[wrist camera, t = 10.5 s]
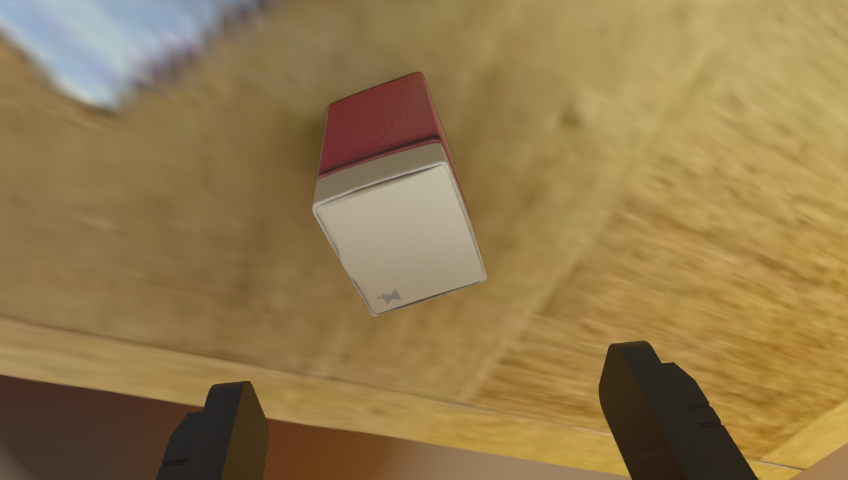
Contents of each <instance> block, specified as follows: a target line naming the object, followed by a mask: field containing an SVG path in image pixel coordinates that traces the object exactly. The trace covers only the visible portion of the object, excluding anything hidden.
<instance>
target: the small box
mask: <svg viewBox="0 0 848 480" xmlns="http://www.w3.org/2000/svg"><path fill="white" fill-rule="evenodd" d="M312 211H313V213H314V215H315V217H316V219H317V221H318V222H319V224H320V226H321V228H322V230H323V232H324V233H325V235H326V237H327V239H328V241H329V243H330V244H331V246H332V248H333V249H334V251H335V253H336V255H337V257H338V258H339V260H340V262H341V264H342V266H343V268H344V269H345V271H346V273H347V274H348V276H349V277H350V279H351V281H352V282H353V284H354V286H355V288H356V289H357V291H358V292H359V294H360V296H361V297H362V299H363V301H364V303H365V304H366V306H367V307H368V309H369V311H370V313H371V315H372V316H379V315H382V314H384V313H387V312H391V311H394V310H397V309H401V308H404V307H407V306H411V305H414V304H417V303H420V302H424V301H426V300H429V299H433V298H436V297H439V296H442V295H446V294H448V293H451V292H454V291H457V290H459V289H462V288H466V287H469V286H471V285H474V284H477V283H481V282H483V281H485V280H486V278H487V275H486V271H485V268H484V264H483V261H482V257H481V254H480V251H479V247H478V244H477V240H476V236H475V233H474V229H473V226H472V223H471V219H470V216H469V213H468V209H467V206H466V203H465V199H464V196H463V192H462V189H461V185H460V182H459V178H458V174H457V171H456V168H455V164H454V161H453V158H452V155H451V152H450V148H449V145H448V142H447V139H446V136H445V132H444V129H443V127H442V124H441V121H440V118H439V116H438V113H437V110H436V108H435V105H434V102H433V100H432V97H431V94H430V92H429V89H428V86H427V84H426V81H425V78H424V76H423V74H422V73H419V72H418V73H414V74H411V75H408V76H406V77H403V78H400V79H397V80H394V81H391V82H388V83H385V84H382V85H380V86H377V87H374V88H371V89H369V90H366V91H363V92H361V93H358V94H355V95H353V96H350V97H348V98H345V99H343V100H340V101H338V102H335V103H332V104H330V105H329V107H328V110H327V116H326V123H325V129H324V136H323V142H322V149H321V155H320V161H319V167H318V174H317V179H316V186H315V192H314V199H313V205H312Z"/></svg>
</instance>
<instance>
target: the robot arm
mask: <svg viewBox="0 0 848 480" xmlns="http://www.w3.org/2000/svg"><path fill="white" fill-rule="evenodd" d="M599 398H600V404H601V407H602V411H603V413H604V416H605V418H606V420H607V422H608V425H609V427H610V429H611V432H612V434H613V436H614V439H615V441H616V443H617V446H618V448H619V450H620V453H621V455H622V457H623V460H624V462H625V464H626V467H627V469H628V471H629V474H630V476H631V478H632V480H758V479H757V477H756V476H755V474H754V472H753V471H752V469H751V468H750V466H749V464H748V463H747V461H746V460H745V458H744V457H743V455H742V453H741V452H740V450H739V449H738V447H737V446H736V444H735V442H734V441H733V439H732V438H731V436H730V435H729V433H728V431H727V430H726V428H725V427H724V425H723V426H722V425H721V420H720V419H719V417H718V416H717V414H716V413H715V411H714V409H713V408H712V407H710V406H709V402H708V400H707V398H706V397H705V395H704V394H703V392H702V391H701V389H700V387H699V386H698V384H697V383H696V381H695V380H694V379H693V378H692V377H690V376H689V375H688V374H687V373H686V372H685V371H683V370H682V369H681V368H680V367H679V366H678V365H676V364H675V363H674V362H672V363H663V364H662V363H661V361H660V360H659V358H658V356H657V355H656V353H655V351H654V349H653V348H652V346H651V345H650V344H649V343H648V342H647V341H634V342H625V343H615V344H611V345H610V346H609V348H608V352H607V356H606V360H605V363H604V367H603V371H602V375H601V379H600V383H599ZM267 450H268V426H267V421H266V418H265V415H264V413H263V410H262V408H261V405H260V403H259V400H258V398H257V396H256V393H255V391H254V388H253V386H252V384H251V382H250V381H242V382H233V383H223V384H215V385H213V386H212V387H211V388H210V390H209V393H208V396H207V399H206V402H205V406H204V409H203V412H195V413H188V414H187V415H186V416H185V418H184V419H183V420H182V422H181V423H180V424H179V426H178V427H177V428H176V430H175V431H174V432H173V434H172V435H171V436H170V439H169V442H168V445H167V448H166V451H165V454H164V457H163V460H162V467H160V468H159V472H158V474H157V477H156V480H262V479H263V474H264V468H265V462H266V456H267Z"/></svg>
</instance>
